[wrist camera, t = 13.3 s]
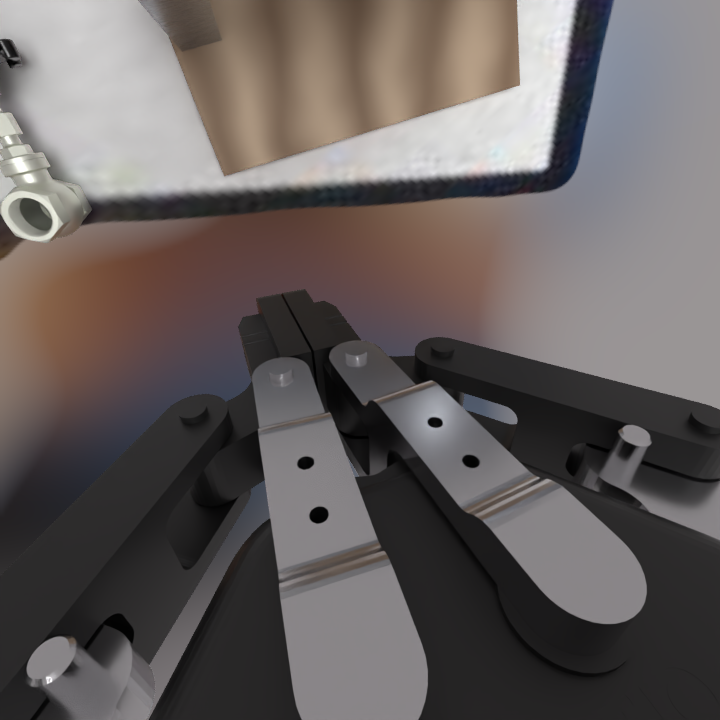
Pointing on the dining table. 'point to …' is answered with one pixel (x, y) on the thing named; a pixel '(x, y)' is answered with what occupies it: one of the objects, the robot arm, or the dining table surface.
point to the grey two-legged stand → (185, 21)
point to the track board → (341, 69)
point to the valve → (34, 182)
